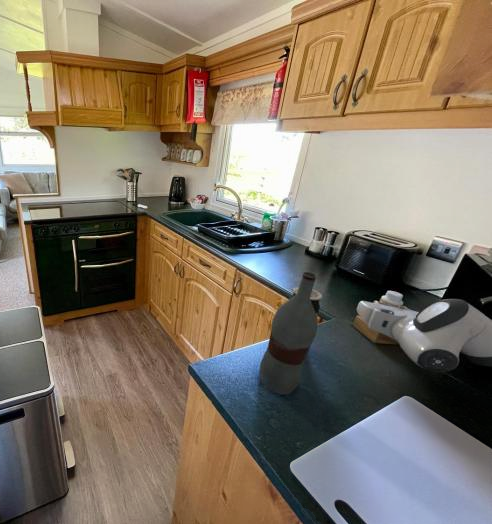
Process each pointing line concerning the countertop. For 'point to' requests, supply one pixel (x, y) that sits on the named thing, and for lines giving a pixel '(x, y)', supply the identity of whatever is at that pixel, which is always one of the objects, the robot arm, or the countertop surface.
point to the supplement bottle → (392, 299)
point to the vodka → (290, 340)
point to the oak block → (372, 332)
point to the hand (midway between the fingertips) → (388, 305)
